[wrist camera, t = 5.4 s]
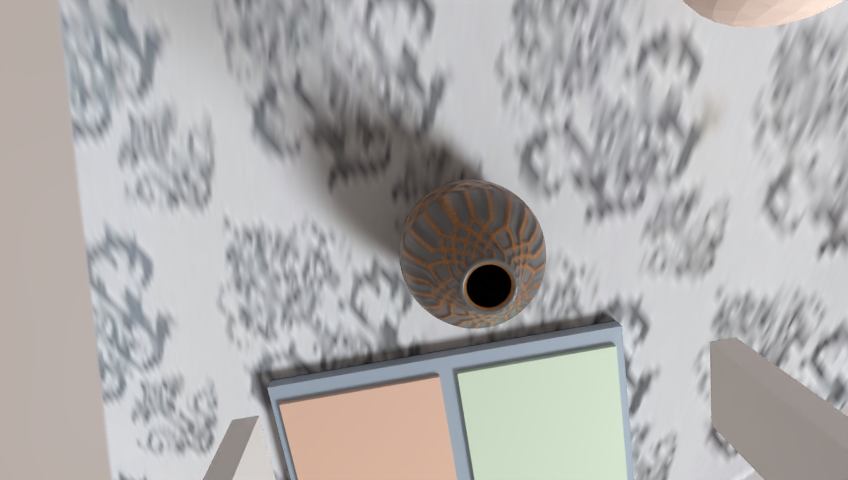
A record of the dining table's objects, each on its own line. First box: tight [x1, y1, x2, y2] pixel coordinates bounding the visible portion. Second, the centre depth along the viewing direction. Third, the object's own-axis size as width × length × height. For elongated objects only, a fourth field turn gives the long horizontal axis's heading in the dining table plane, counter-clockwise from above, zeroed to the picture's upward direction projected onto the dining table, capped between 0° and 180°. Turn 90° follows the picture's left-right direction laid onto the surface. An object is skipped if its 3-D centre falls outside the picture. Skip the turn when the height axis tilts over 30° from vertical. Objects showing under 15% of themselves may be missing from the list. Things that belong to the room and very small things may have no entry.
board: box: [267, 321, 634, 480], centre depth 33 cm, size 11×20×1 cm, turn 99°
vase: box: [399, 179, 546, 328], centre depth 26 cm, size 7×7×9 cm
